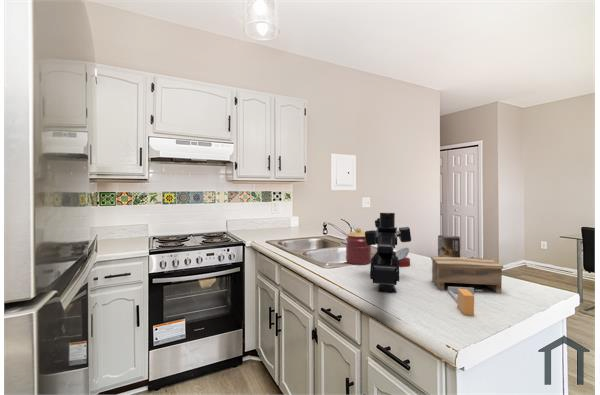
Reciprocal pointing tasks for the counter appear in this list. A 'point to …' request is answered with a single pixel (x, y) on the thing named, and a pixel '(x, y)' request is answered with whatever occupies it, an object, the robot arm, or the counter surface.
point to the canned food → (403, 257)
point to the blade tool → (463, 299)
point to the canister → (357, 248)
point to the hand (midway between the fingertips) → (387, 234)
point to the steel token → (477, 288)
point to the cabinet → (466, 272)
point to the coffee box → (448, 246)
